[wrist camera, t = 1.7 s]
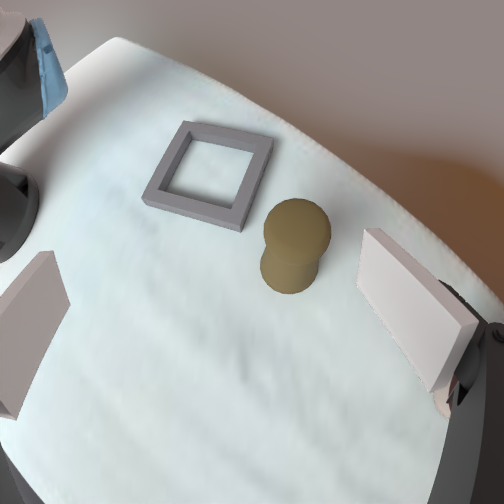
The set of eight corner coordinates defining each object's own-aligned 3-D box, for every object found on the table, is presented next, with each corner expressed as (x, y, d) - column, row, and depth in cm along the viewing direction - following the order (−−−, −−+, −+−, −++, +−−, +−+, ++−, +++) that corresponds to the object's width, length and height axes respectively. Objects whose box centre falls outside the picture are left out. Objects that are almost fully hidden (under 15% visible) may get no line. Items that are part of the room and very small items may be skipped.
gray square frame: (146, 205, 36) (141, 197, 34) (186, 129, 39) (183, 120, 38) (240, 232, 34) (239, 225, 33) (273, 147, 38) (273, 138, 36)
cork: (257, 241, 34) (254, 189, 23) (313, 236, 34) (332, 183, 23) (262, 296, 32) (261, 266, 22) (321, 291, 32) (347, 258, 21)
